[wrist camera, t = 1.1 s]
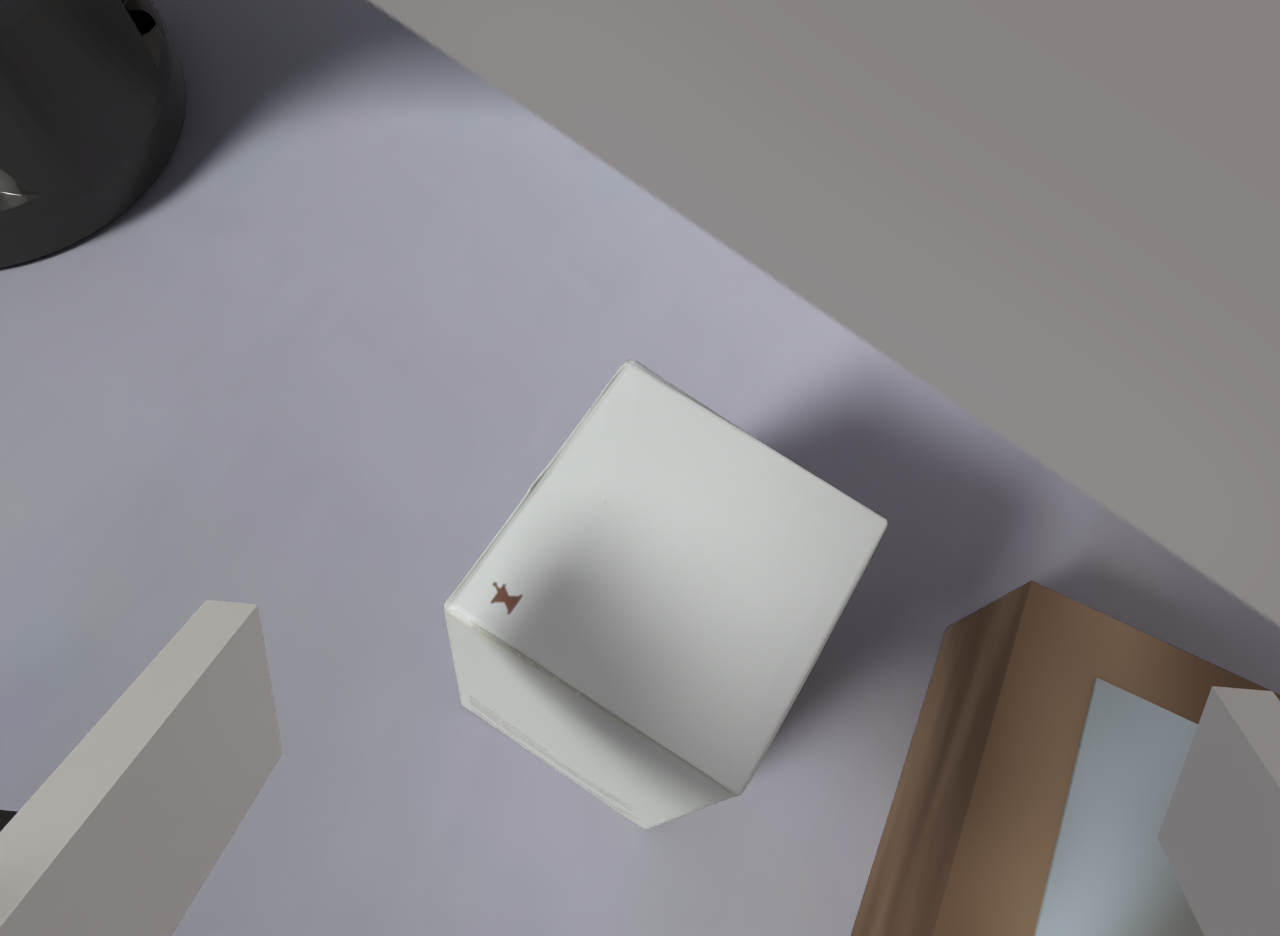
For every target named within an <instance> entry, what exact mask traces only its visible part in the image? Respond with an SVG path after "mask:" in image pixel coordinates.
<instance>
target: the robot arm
mask: <svg viewBox="0 0 1280 936" xmlns="http://www.w3.org/2000/svg"><path fill="white" fill-rule="evenodd" d="M184 111H185V84H184V78H183V73H182V70H181V66H180V63H179V60H178V58H177V55H176V52H175V50H174V47H173V45H172V42H171V40H170V37H169V35H168V32H167V30H166V27H165V25H164V22H163V20H162V17H161V15H160V13H159V11H158V9H157V7H156V6H155V4H154V3H153V1H152V0H0V268H2V267H7V266H11V265H15V264H19V263H23V262H26V261H30V260H33V259H36V258H39V257H42V256H45V255H48V254H50V253H53V252H55V251H58V250H60V249H63V248H65V247H67V246H69V245H71V244H73V243H75V242H77V241H79V240H81V239H83V238H85V237H87V236H89V235H90V234H92V233H94V232H95V231H97V230H99V229H100V228H102V227H103V226H105V225H106V224H108V223H109V222H111V221H112V220H113V219H115V218H116V217H118V216H119V215H120V214H121V213H122V212H124V211H125V210H126V209H127V208H129V207H130V206H131V205H132V204H133V203H134V202H135V201H136V200H137V199H138V198H139V197H140V196H141V195H142V194H143V193H144V192H145V191H146V190H147V189H148V188H149V187H150V185H151V184H152V183H153V181H154V180H155V179H156V178H157V176H158V175H159V174H160V172H161V171H162V169H163V168H164V166H165V165H166V163H167V161H168V159H169V157H170V156H171V154H172V152H173V149H174V147H175V145H176V143H177V140H178V137H179V134H180V131H181V127H182V123H183V119H184ZM282 753H283V750H282V744H281V739H280V733H279V727H278V721H277V715H276V709H275V703H274V697H273V692H272V686H271V680H270V674H269V668H268V662H267V656H266V650H265V645H264V639H263V633H262V627H261V621H260V615H259V609H258V604H246V603H234V602H223V601H211V600H206V601H205V602H204V603H203V604H202V605H201V606H200V608H199V609H198V610H197V611H196V612H195V613H194V614H193V616H192V617H191V618H190V619H189V620H188V621H187V622H186V623H185V625H184V626H183V627H182V628H181V629H180V630H179V631H178V632H177V634H176V635H175V636H174V637H173V638H172V639H171V640H170V641H169V643H168V644H167V645H166V646H165V647H164V648H163V649H162V650H161V652H160V653H159V654H158V655H157V656H156V657H155V658H154V659H153V661H152V662H151V663H150V664H149V665H148V666H147V667H146V668H145V670H144V671H143V672H142V673H141V674H140V675H139V676H138V677H137V679H136V680H135V681H134V682H133V683H132V684H131V685H130V686H129V688H128V689H127V690H126V691H125V692H124V693H123V694H122V695H121V697H120V698H119V699H118V700H117V701H116V702H115V703H114V704H113V706H112V707H111V708H110V709H109V710H108V711H107V712H106V713H105V715H104V716H103V717H102V718H101V719H100V720H99V721H98V722H97V724H96V725H95V726H94V727H93V728H92V729H91V730H90V731H89V733H88V734H87V735H86V736H85V737H84V738H83V739H82V740H81V742H80V743H79V744H78V745H77V746H76V747H75V748H74V749H73V751H72V752H71V753H70V754H69V755H68V756H67V757H66V758H65V760H64V761H63V762H62V763H61V764H60V765H59V766H58V768H57V769H56V770H55V771H54V772H53V773H52V774H51V775H50V777H49V778H48V779H47V780H46V781H45V782H44V783H43V784H42V786H41V787H40V788H39V789H38V790H37V791H36V792H35V793H34V795H33V796H32V797H31V798H30V799H29V800H28V801H27V802H26V804H25V805H24V806H23V807H22V808H21V809H20V810H19V811H18V812H15V811H6V810H0V936H171V935H172V933H173V932H174V930H175V928H176V927H177V925H178V924H179V922H180V920H181V919H182V917H183V915H184V914H185V912H186V910H187V909H188V907H189V906H190V904H191V902H192V901H193V899H194V897H195V896H196V894H197V892H198V891H199V889H200V888H201V886H202V884H203V883H204V881H205V879H206V878H207V876H208V874H209V873H210V871H211V870H212V868H213V866H214V865H215V863H216V861H217V860H218V858H219V856H220V855H221V853H222V852H223V850H224V848H225V847H226V845H227V843H228V842H229V840H230V838H231V837H232V835H233V834H234V832H235V830H236V829H237V827H238V825H239V824H240V822H241V820H242V819H243V817H244V816H245V814H246V812H247V811H248V809H249V807H250V806H251V804H252V802H253V801H254V799H255V797H256V796H257V794H258V793H259V791H260V789H261V788H262V786H263V784H264V783H265V781H266V779H267V778H268V776H269V775H270V773H271V771H272V770H273V768H274V766H275V765H276V763H277V761H278V760H279V758H280V757H281V755H282ZM1157 838H1158V840H1159V842H1160V844H1161V847H1162V849H1163V851H1164V853H1165V855H1166V857H1167V859H1168V861H1169V863H1170V865H1171V867H1172V869H1173V872H1174V874H1175V876H1176V878H1177V880H1178V882H1179V884H1180V886H1181V888H1182V890H1183V892H1184V895H1185V897H1186V899H1187V901H1188V903H1189V905H1190V907H1191V909H1192V911H1193V913H1194V915H1195V917H1196V920H1197V922H1198V924H1199V926H1200V928H1201V930H1202V932H1203V934H1204V936H1280V701H1279V699H1278V698H1277V697H1276V695H1275V694H1274V693H1273V691H1263V690H1252V689H1240V688H1228V687H1217V686H1212V688H1211V691H1210V694H1209V696H1208V699H1207V702H1206V705H1205V707H1204V710H1203V713H1202V716H1201V718H1200V721H1199V724H1198V727H1197V730H1196V732H1195V735H1194V738H1193V741H1192V743H1191V746H1190V749H1189V752H1188V754H1187V757H1186V760H1185V763H1184V765H1183V768H1182V771H1181V774H1180V776H1179V779H1178V782H1177V785H1176V787H1175V790H1174V793H1173V796H1172V798H1171V801H1170V804H1169V807H1168V809H1167V812H1166V815H1165V818H1164V820H1163V823H1162V826H1161V829H1160V831H1159V834H1158V837H1157Z"/></svg>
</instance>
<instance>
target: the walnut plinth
mask: <svg viewBox="0 0 1280 936" xmlns="http://www.w3.org/2000/svg"><path fill="white" fill-rule="evenodd" d="M1212 686H1217V687H1228V688H1240V689H1252V690H1263V691H1270V690H1268V689H1266V688H1264V687H1261V686H1259V685H1257V684H1255V683H1253V682H1251V681H1248V680H1246V679H1244V678H1242V677H1240V676H1238V675H1235V674H1233V673H1231V672H1229V671H1227V670H1225V669H1222V668H1220V667H1218V666H1216V665H1214V664H1212V663H1209V662H1207V661H1205V660H1203V659H1201V658H1199V657H1196V656H1194V655H1192V654H1190V653H1188V652H1186V651H1183V650H1181V649H1179V648H1177V647H1175V646H1173V645H1170V644H1168V643H1166V642H1164V641H1162V640H1160V639H1157V638H1155V637H1153V636H1151V635H1149V634H1147V633H1144V632H1142V631H1140V630H1138V629H1136V628H1134V627H1131V626H1129V625H1127V624H1125V623H1123V622H1121V621H1118V620H1116V619H1114V618H1112V617H1110V616H1108V615H1105V614H1103V613H1101V612H1099V611H1097V610H1095V609H1092V608H1090V607H1088V606H1086V605H1084V604H1082V603H1079V602H1077V601H1075V600H1073V599H1071V598H1069V597H1066V596H1064V595H1062V594H1060V593H1058V592H1056V591H1053V590H1051V589H1049V588H1047V587H1045V586H1043V585H1040V584H1038V583H1036V582H1034V581H1030V582H1028V583H1026V584H1024V585H1023V586H1021V587H1019V588H1017V589H1015V590H1014V591H1012V592H1010V593H1008V594H1006V595H1005V596H1003V597H1001V598H999V599H997V600H996V601H994V602H992V603H990V604H988V605H987V606H985V607H983V608H981V609H979V610H978V611H976V612H974V613H972V614H970V615H969V616H967V617H965V618H963V619H961V620H960V621H958V622H956V623H954V624H952V625H951V626H949V627H947V629H946V632H945V636H944V639H943V642H942V645H941V648H940V652H939V655H938V658H937V661H936V664H935V668H934V671H933V674H932V677H931V680H930V684H929V687H928V690H927V693H926V696H925V700H924V703H923V706H922V709H921V712H920V716H919V719H918V722H917V725H916V728H915V732H914V735H913V738H912V741H911V744H910V748H909V751H908V754H907V757H906V760H905V764H904V767H903V770H902V773H901V777H900V780H899V783H898V786H897V789H896V793H895V796H894V799H893V802H892V805H891V809H890V812H889V815H888V818H887V821H886V825H885V828H884V831H883V834H882V837H881V841H880V844H879V847H878V850H877V853H876V857H875V860H874V863H873V866H872V869H871V873H870V876H869V879H868V882H867V885H866V889H865V892H864V895H863V898H862V901H861V905H860V908H859V911H858V914H857V917H856V921H855V924H854V927H853V930H852V933H851V936H1204V934H1203V932H1202V930H1201V928H1200V926H1199V924H1198V922H1197V920H1196V917H1195V915H1194V913H1193V911H1192V909H1191V907H1190V905H1189V903H1188V901H1187V899H1186V897H1185V895H1184V892H1183V890H1182V888H1181V886H1180V884H1179V882H1178V880H1177V878H1176V876H1175V874H1174V872H1173V869H1172V867H1171V865H1170V863H1169V861H1168V859H1167V857H1166V855H1165V853H1164V851H1163V849H1162V847H1161V844H1160V842H1159V840H1158V838H1157V837H1158V834H1159V831H1160V829H1161V826H1162V823H1163V820H1164V818H1165V815H1166V812H1167V809H1168V807H1169V804H1170V801H1171V798H1172V796H1173V793H1174V790H1175V787H1176V785H1177V782H1178V779H1179V776H1180V774H1181V771H1182V768H1183V765H1184V763H1185V760H1186V757H1187V754H1188V752H1189V749H1190V746H1191V743H1192V741H1193V738H1194V735H1195V732H1196V730H1197V727H1198V724H1199V721H1200V718H1201V716H1202V713H1203V710H1204V707H1205V705H1206V702H1207V699H1208V696H1209V694H1210V691H1211V688H1212ZM1273 693H1274V692H1273ZM1274 694H1275V695H1276V697H1277V698H1278V699H1279V701H1280V695H1279V694H1277V693H1274Z"/></svg>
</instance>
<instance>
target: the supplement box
mask: <svg viewBox="0 0 1280 936" xmlns="http://www.w3.org/2000/svg"><path fill="white" fill-rule="evenodd" d="M887 526H888V522H887V519H885V518H883V517H882V516H880V515H878V514H876V513H875V512H873V511H872V510H870V509H869V508H867V507H865V506H864V505H862V504H861V503H859V502H857V501H856V500H854V499H852V498H851V497H849V496H848V495H846V494H844V493H843V492H841V491H840V490H838V489H836V488H835V487H833V486H831V485H830V484H828V483H827V482H825V481H823V480H822V479H820V478H818V477H817V476H815V475H814V474H812V473H810V472H809V471H807V470H805V469H804V468H802V467H801V466H799V465H797V464H796V463H794V462H793V461H791V460H789V459H788V458H786V457H785V456H783V455H781V454H780V453H778V452H776V451H775V450H773V449H771V448H770V447H768V446H767V445H765V444H763V443H762V442H760V441H758V440H757V439H755V438H754V437H752V436H751V435H749V434H748V433H746V432H745V431H743V430H742V429H740V428H738V427H737V426H735V425H734V424H732V423H731V422H729V421H728V420H726V419H725V418H723V417H722V416H720V415H719V414H717V413H715V412H714V411H712V410H711V409H709V408H708V407H706V406H705V405H703V404H702V403H700V402H699V401H697V400H696V399H694V398H693V397H691V396H690V395H688V394H687V393H685V392H683V391H682V390H680V389H679V388H677V387H676V386H674V385H672V384H671V383H669V382H668V381H666V380H665V379H663V378H662V377H660V376H659V375H657V374H655V373H654V372H652V371H651V370H649V369H648V368H647V367H645V366H644V365H642V364H641V363H639V362H637V361H635V360H628V361H627V362H625V363H624V364H623V365H622V366H621V367H620V368H619V369H618V371H617V372H616V373H615V375H614V376H613V378H612V379H611V380H610V382H609V383H608V384H607V385H606V387H605V388H604V389H603V391H602V392H601V394H600V395H599V396H598V398H597V399H596V401H595V402H594V403H593V405H592V406H591V407H590V409H589V410H588V411H587V413H586V414H585V415H584V417H583V418H582V419H581V421H580V422H579V424H578V425H577V426H576V428H575V429H574V430H573V432H572V433H571V434H570V436H569V437H568V438H567V440H566V441H565V442H564V444H563V445H562V446H561V448H560V449H559V450H558V452H557V453H556V454H555V456H554V457H553V458H552V460H551V461H550V463H549V464H548V465H547V466H546V467H545V469H544V470H543V471H542V472H541V473H540V475H539V476H538V477H537V479H536V480H535V481H534V482H533V484H532V485H531V486H530V488H529V489H528V491H527V493H526V494H525V496H524V498H523V499H522V501H521V502H520V503H519V505H518V506H517V507H516V509H515V510H514V512H513V513H512V514H511V516H510V517H509V518H508V520H507V521H506V522H505V524H504V525H503V526H502V528H501V529H500V530H499V532H498V533H497V534H496V536H495V537H494V538H493V540H492V541H491V542H490V544H489V545H488V546H487V548H486V549H485V550H484V552H483V553H482V554H481V556H480V557H479V558H478V560H477V561H476V562H475V564H474V565H473V566H472V568H471V569H470V570H469V572H468V573H467V574H466V576H465V577H464V579H463V580H462V581H461V582H460V584H459V585H458V586H457V588H456V589H455V590H454V591H453V593H452V594H451V595H450V597H449V598H448V599H447V600H446V602H445V604H444V611H445V617H446V622H447V627H448V634H449V637H450V644H451V649H452V655H453V661H454V666H455V672H456V676H457V682H458V687H459V693H460V698H461V704H462V705H463V706H464V707H466V708H467V709H469V710H470V711H472V712H473V713H475V714H476V715H477V716H479V717H480V718H482V719H483V720H485V721H486V722H488V723H489V724H491V725H492V726H493V727H495V728H496V729H498V730H499V731H501V732H502V733H504V734H505V735H507V736H508V737H509V738H511V739H512V740H514V741H515V742H517V743H518V744H520V745H521V746H522V747H524V748H525V749H527V750H528V751H530V752H531V753H533V754H534V755H535V756H537V757H538V758H540V759H541V760H543V761H544V762H545V763H547V764H548V765H550V766H551V767H553V768H554V769H556V770H557V771H559V772H560V773H562V774H563V775H565V776H566V777H568V778H569V779H571V780H572V781H574V782H575V783H577V784H578V785H579V786H581V787H582V788H584V789H585V790H587V791H588V792H590V793H591V794H593V795H594V796H596V797H597V798H599V799H600V800H601V801H603V802H604V803H606V804H607V805H609V806H610V807H612V808H613V809H615V810H616V811H618V812H619V813H621V814H622V815H624V816H625V817H627V818H628V819H630V820H631V821H633V822H634V823H636V824H637V825H639V826H641V827H642V828H645V829H649V828H652V827H655V826H657V825H660V824H663V823H666V822H668V821H671V820H673V819H676V818H679V817H681V816H684V815H686V814H689V813H691V812H694V811H697V810H700V809H702V808H704V807H707V806H710V805H712V804H716V803H718V802H720V801H723V800H726V799H728V798H731V797H735V796H739V795H741V794H742V793H743V791H744V790H745V788H746V786H747V785H748V783H749V782H750V780H751V778H752V777H753V775H754V773H755V771H756V770H757V768H758V766H759V765H760V763H761V761H762V759H763V758H764V756H765V754H766V752H767V750H768V749H769V747H770V745H771V743H772V741H773V740H774V738H775V736H776V734H777V732H778V731H779V729H780V727H781V725H782V723H783V721H784V720H785V718H786V716H787V714H788V712H789V710H790V709H791V707H792V705H793V703H794V701H795V700H796V698H797V696H798V694H799V692H800V690H801V689H802V687H803V685H804V683H805V681H806V679H807V678H808V676H809V674H810V672H811V670H812V668H813V667H814V665H815V663H816V661H817V659H818V657H819V655H820V653H821V651H822V650H823V648H824V646H825V644H826V642H827V640H828V638H829V636H830V635H831V633H832V631H833V629H834V627H835V625H836V623H837V621H838V620H839V618H840V616H841V614H842V612H843V610H844V608H845V606H846V605H847V603H848V601H849V599H850V597H851V595H852V593H853V592H854V590H855V588H856V586H857V584H858V582H859V580H860V579H861V577H862V575H863V573H864V571H865V569H866V567H867V565H868V563H869V562H870V560H871V558H872V556H873V554H874V552H875V550H876V548H877V546H878V544H879V542H880V540H881V538H882V536H883V534H884V532H885V530H886V528H887Z"/></svg>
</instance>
